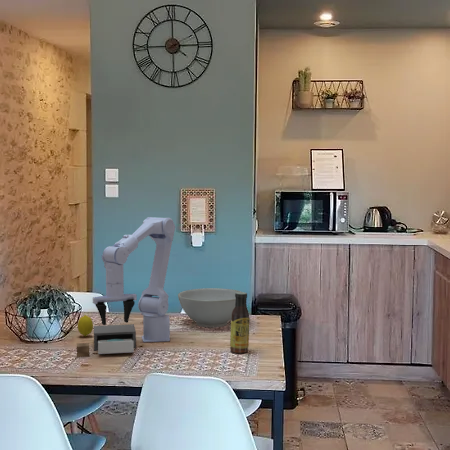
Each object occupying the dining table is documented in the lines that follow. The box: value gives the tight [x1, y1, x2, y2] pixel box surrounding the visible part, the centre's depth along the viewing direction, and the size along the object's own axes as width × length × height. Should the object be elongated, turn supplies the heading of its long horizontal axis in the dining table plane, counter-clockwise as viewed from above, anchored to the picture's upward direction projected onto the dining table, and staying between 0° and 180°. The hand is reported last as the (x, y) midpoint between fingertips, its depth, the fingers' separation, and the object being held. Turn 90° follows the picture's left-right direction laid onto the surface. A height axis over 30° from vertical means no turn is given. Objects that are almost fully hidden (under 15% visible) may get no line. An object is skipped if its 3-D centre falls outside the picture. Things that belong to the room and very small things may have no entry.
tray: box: [97, 339, 134, 355], centre depth 215 cm, size 11×10×4 cm
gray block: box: [93, 323, 137, 352], centre depth 224 cm, size 14×11×6 cm
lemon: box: [77, 314, 94, 337], centre depth 236 cm, size 6×6×8 cm
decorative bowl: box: [177, 287, 242, 329], centre depth 257 cm, size 27×27×12 cm
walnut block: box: [76, 342, 90, 358], centre depth 212 cm, size 4×4×4 cm
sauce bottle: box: [229, 291, 251, 354], centre depth 217 cm, size 6×6×20 cm
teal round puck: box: [107, 339, 124, 342], centre depth 216 cm, size 6×6×2 cm
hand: (115, 323), depth 215 cm, fingers open, 7 cm apart
